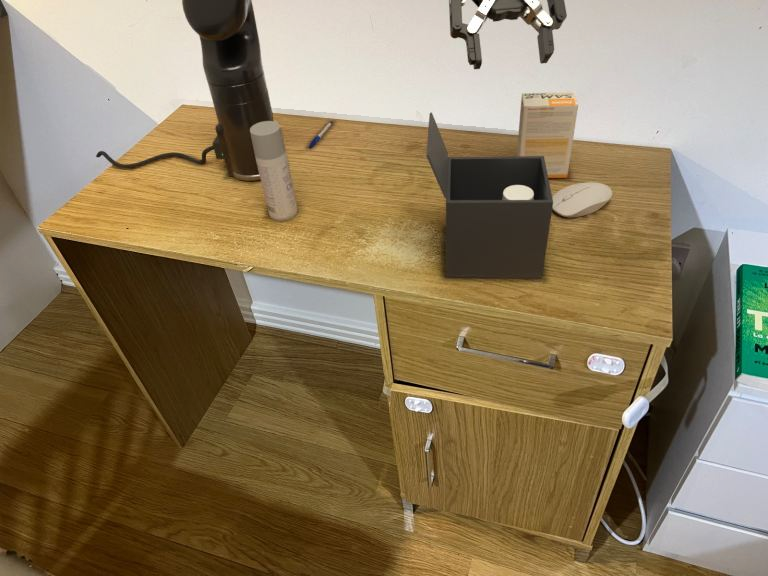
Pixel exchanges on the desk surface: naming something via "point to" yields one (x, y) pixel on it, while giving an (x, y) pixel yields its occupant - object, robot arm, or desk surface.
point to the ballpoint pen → (319, 135)
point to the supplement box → (548, 129)
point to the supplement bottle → (518, 193)
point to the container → (274, 170)
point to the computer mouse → (581, 199)
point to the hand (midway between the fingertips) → (511, 63)
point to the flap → (437, 155)
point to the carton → (496, 218)
